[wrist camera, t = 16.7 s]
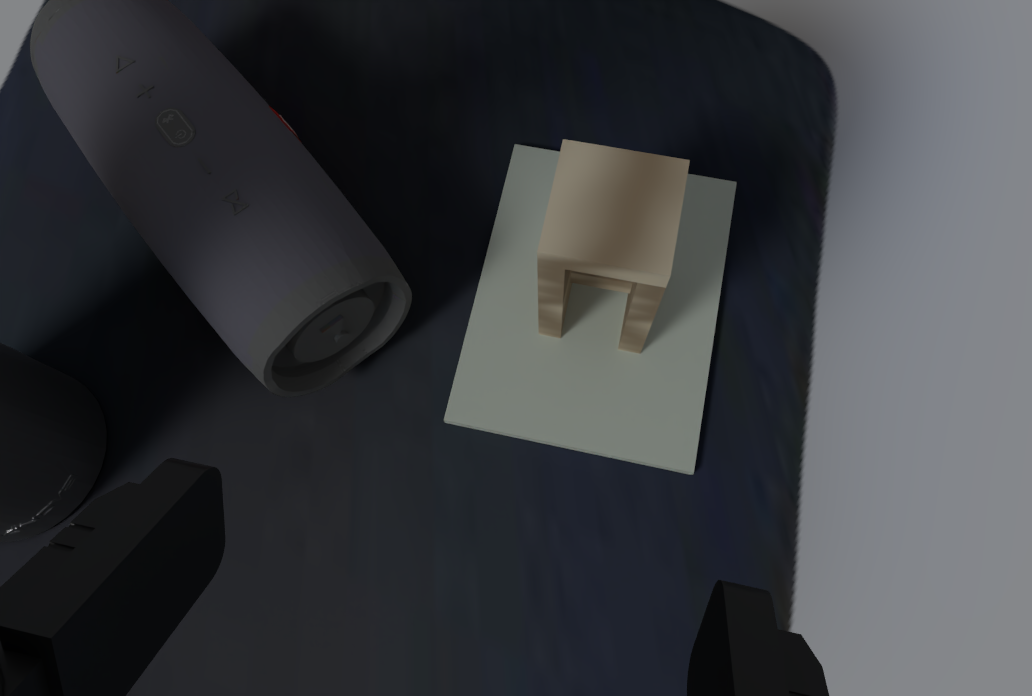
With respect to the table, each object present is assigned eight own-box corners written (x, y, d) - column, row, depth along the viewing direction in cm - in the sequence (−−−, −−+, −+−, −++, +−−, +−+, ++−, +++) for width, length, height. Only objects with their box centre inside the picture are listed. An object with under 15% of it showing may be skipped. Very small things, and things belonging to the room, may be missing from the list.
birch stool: (538, 334, 40) (537, 251, 31) (558, 243, 42) (563, 139, 32) (640, 353, 40) (670, 276, 30) (656, 261, 41) (690, 160, 32)
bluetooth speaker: (436, 320, 41) (405, 236, 32) (297, 425, 40) (221, 370, 30) (219, 64, 48) (139, -70, 38) (91, 146, 46) (-26, 28, 36)
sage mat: (445, 422, 39) (443, 419, 39) (515, 149, 45) (514, 143, 44) (691, 474, 38) (693, 472, 38) (734, 187, 43) (736, 182, 43)
